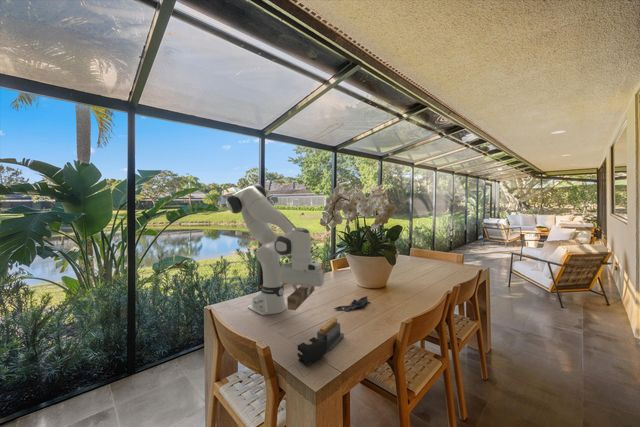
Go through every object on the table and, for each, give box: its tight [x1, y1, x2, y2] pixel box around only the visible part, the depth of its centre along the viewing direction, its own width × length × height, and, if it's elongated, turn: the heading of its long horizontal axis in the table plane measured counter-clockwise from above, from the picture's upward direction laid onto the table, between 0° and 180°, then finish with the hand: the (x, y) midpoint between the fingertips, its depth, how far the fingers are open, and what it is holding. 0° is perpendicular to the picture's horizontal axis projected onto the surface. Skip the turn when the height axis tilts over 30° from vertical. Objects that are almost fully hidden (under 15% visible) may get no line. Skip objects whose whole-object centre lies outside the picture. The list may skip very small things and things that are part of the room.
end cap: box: [297, 337, 328, 366], centre depth 101 cm, size 10×7×7 cm
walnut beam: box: [286, 285, 315, 311], centre depth 117 cm, size 24×4×5 cm, turn 162°
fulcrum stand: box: [316, 317, 345, 351], centre depth 114 cm, size 8×13×8 cm, turn 149°
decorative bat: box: [333, 295, 369, 312], centre depth 152 cm, size 30×4×10 cm
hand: (302, 294), depth 117 cm, fingers closed on walnut beam, 3 cm apart
